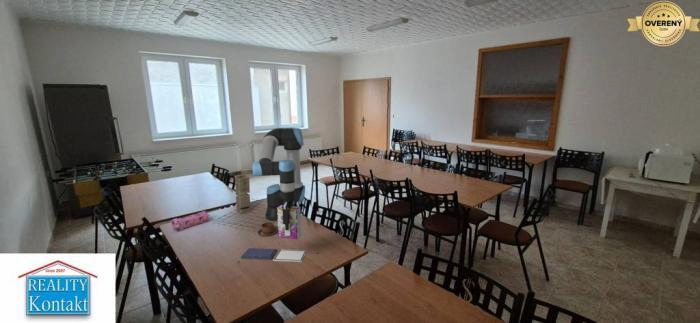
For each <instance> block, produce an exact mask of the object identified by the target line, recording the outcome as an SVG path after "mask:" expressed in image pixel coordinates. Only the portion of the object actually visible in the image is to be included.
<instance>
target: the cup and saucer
mask: <svg viewBox="0 0 700 323" xmlns="http://www.w3.org/2000/svg"><path fill="white" fill-rule="evenodd" d="M274 224H275V223H274V222H263V223H261V225H260V227H261V229H259V230H258V231H257V234H258V235H259V236H260V237H270V236H274V235H275V234H278V225H274ZM274 231H275V232H274ZM261 233H262V234H261Z"/></svg>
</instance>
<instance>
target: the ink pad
mask: <svg viewBox="0 0 700 323" xmlns="http://www.w3.org/2000/svg"><path fill="white" fill-rule="evenodd" d="M277 251H278V249H277V248H253V247H249V248H248V249H247V250H246V251H245V252H244V253H242V256H241V257H240V259H243V260H272V259H273V257H275V256H274V255H275V254H277Z"/></svg>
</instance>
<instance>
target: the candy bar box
mask: <svg viewBox="0 0 700 323" xmlns="http://www.w3.org/2000/svg"><path fill="white" fill-rule="evenodd" d="M288 209H289V208H288ZM289 215H290V220H289V223H290V233H291V235H290V236H285V224H283V210H282V205H281V206H279V207H277V218H278V220H277V227H278V231H277V237H278V238H283V239H285V238H286V239H291V240H298V239H299V238H301V236H302V232H301V231H302V228H301V226H302V224H301V223H302V222H301V221H302V220H301V206H295V205H294V206H291V209H290V211H289Z"/></svg>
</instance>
